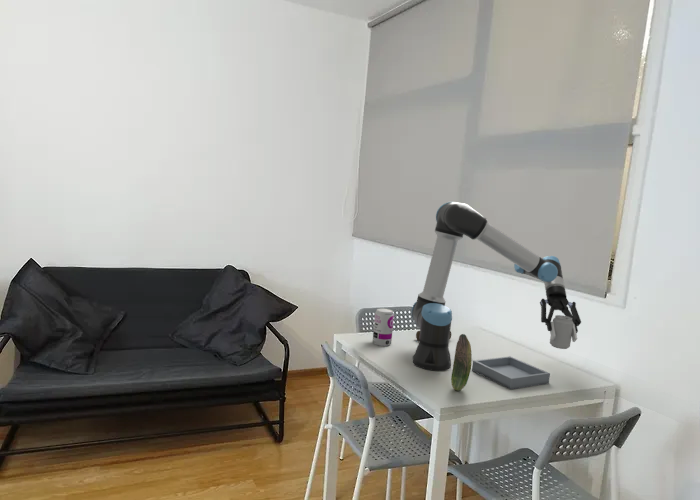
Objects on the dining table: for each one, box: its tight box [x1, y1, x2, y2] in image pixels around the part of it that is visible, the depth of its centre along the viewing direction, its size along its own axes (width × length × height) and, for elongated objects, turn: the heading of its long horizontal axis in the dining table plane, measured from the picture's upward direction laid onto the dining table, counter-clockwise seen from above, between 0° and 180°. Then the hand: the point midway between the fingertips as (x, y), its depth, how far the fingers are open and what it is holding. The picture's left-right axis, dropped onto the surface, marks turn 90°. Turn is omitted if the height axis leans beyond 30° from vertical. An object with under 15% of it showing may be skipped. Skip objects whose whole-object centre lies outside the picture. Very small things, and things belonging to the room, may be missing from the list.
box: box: [471, 355, 551, 390], centre depth 198 cm, size 20×20×4 cm
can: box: [549, 314, 573, 350], centre depth 202 cm, size 8×8×12 cm
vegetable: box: [450, 333, 473, 392], centre depth 179 cm, size 6×6×20 cm
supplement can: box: [372, 307, 395, 347], centre depth 227 cm, size 8×8×15 cm
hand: (564, 339), depth 199 cm, fingers closed on can, 7 cm apart
